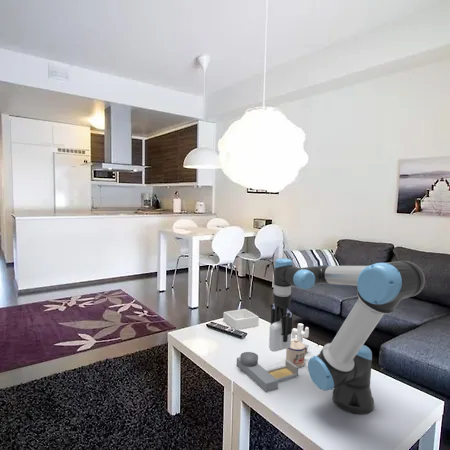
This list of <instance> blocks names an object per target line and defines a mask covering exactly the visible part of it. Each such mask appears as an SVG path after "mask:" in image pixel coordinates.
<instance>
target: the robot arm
mask: <svg viewBox="0 0 450 450" xmlns="http://www.w3.org/2000/svg"><path fill="white" fill-rule="evenodd" d="M273 271H274V272H273V294H272V296H273V298H272V300H273V301H272V302H273V304H270V326H271V325H272V324H273V323H275V322H278V321H281V323H282V334H281V347H280V349H283V350H286V349H285V348H287V339H288V335H290V334H291V335H292V329H293V328H292V327H293V317H294V312H292V311H290V304H291V301H292V300H291V299H292V296H291V294H292V286H295V287H297V288H298V289H303V290H310V289H311V288H312V287H314V285H338V286H339V285H342V286H355V287H357V289H356V290H357V291H356V295H357V297H358V299H357V300H356V302H355V304H354V306H352V309H351V310H350V312H349V313H348V315H347V317H346V318H345V320H344V321H343V322H342V325H341V326H340V328H339V330H338V331H337V332H336V335H335V336H334V338H333V339H332V341H331V342H328V343H326V344H324V346H323V347H322V349H321V350H320V351H319V354H317V355H313V356H312V357H310V358H309V359H308V362H307V371H308V374H309V377H310V379H311V381H312V382H313V384H314V386H315V387H317V388H318V389H320V390H322V391H330V390H332V396H331V397H332V398H331V399H332V402H333V403H334V404H335V406H337V407H339V408H340V409H341V410H343V411H345V412H348V413H351V414H355V415H365V414H366V415H367V414H370V413H371V412H372V411H373V410H374V408H375V406H374V405H375V401H374V397H373V395H372V389H371V374H372V364H373V363H372V362H373V352H372V350H371V349H370V347H368V346H367V345H365V343H366V341H367V340H368V338H369V337H370V335H372V332H373V331H374V330H375V328H376V327H377V325H378V323H380V321H381V320H382V318H383V317H384V315H390V314H392V313H393V312H394V310H395V309H396V307H397V306H398V305H399V303H400V302H401V301H402V300H404V299H409V298H412V297H415V296H417V295H419V294H420V293H421V292H422V291H423V289H424V287H425V285H426V277H425V276H426V275H425V273H424V272H423V269H422V268H420V266H418V265H417V264H416V263H414V262H412V261H408V260H398V261H397V260H396V261H391V262H390V261H389V262H376V263H372V264H370V265H329V264H324V265H316V266H315V265H314V266H307V267H297V266H295V265H293V260H292V259H291V258H283V257H282V258H277V259H275V261H274V267H273Z"/></svg>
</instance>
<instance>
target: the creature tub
mask: <svg viewBox="0 0 450 450" xmlns="http://www.w3.org/2000/svg"><path fill="white" fill-rule="evenodd" d="M222 316H223V317H222V321H223V323H225V324H227V326H229V327H230V328H232V329H233V328H234V329H237V330H236V331H239V330H245V329H250V328H257V327H259V318H260V316H258V315H257V314H255V313H254V312H252V311H249V310H248V309H246V308H240V309H235V310H228V311H224V312H223V315H222ZM234 329H233V330H234Z"/></svg>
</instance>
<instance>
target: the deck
mask: <svg viewBox="0 0 450 450" xmlns="http://www.w3.org/2000/svg"><path fill="white" fill-rule="evenodd" d="M236 366H237V367H238V369H240V370H241V371H242V372H243V373H244V374H246V376H247V377H249V378H250V379H251V380H252V381H253V382H254V383H255V382H256V383H257V384H258V385H257V384H256V383H255V384H256V385H257V386H259V387H260V388H261V389H262V390H263V391H264V392H265V393H268V391H269V392H272V391H275V390H278V389H279V383H280V382H281V383H282V382H284V381H288V380H291V379H294V378H297V377H298V376H299V367H297V366H296V365H294V364H293V363H292V362H290V361H289V360H286V359H285V364H284V365H282V366H279V367H275V368H271V369H267V370H266V369H265V368H264V367H263V366H262V365H260V364H259V356H258V354H257V353H255V352H252V351H245V352H242V353H241V354H240V356H239V357H237V358H236Z"/></svg>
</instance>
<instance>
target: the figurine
mask: <svg viewBox="0 0 450 450" xmlns="http://www.w3.org/2000/svg"><path fill="white" fill-rule="evenodd" d="M309 334H310V329H309V327H308V326H305V328H304V324H303V323H297V328H295V327H294V328H292V332H291V339H297V340H298V341H299V342H302V343H303V344H304V345H305V346H306V347H307V350H308V349H309V348H310V345H309V344H307V343H304V342H303V339H304V338H305V339H307V338H309Z"/></svg>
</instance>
